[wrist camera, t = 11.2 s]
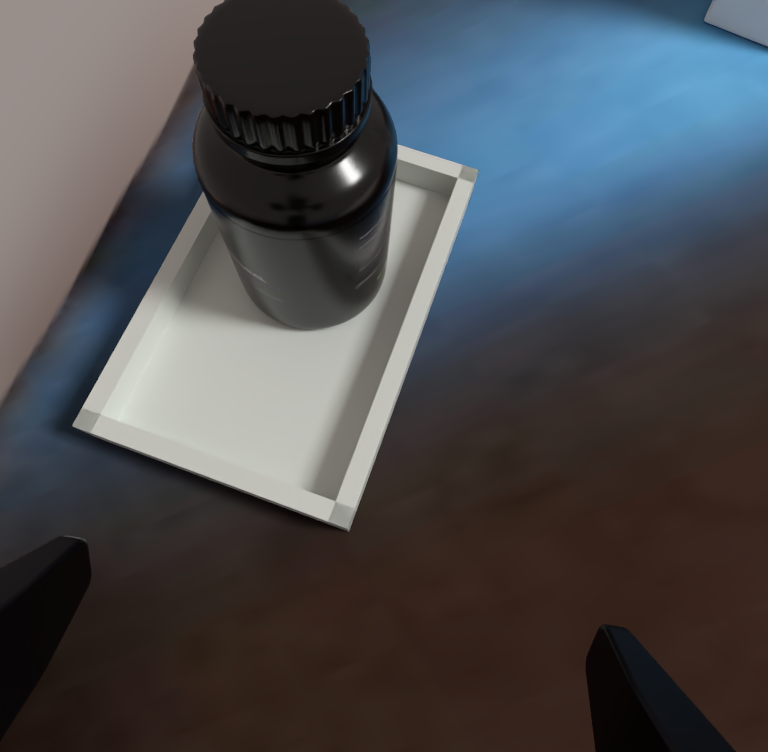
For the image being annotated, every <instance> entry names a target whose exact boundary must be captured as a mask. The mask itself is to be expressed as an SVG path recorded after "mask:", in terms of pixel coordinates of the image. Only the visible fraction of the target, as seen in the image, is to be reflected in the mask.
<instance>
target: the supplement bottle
mask: <svg viewBox="0 0 768 752" xmlns="http://www.w3.org/2000/svg"><path fill="white" fill-rule="evenodd" d="M194 48H195V51H194V54H193V60H194V64H195V67H196V74H197V78H198V81H199V84H200V87H201V90H202V94H203V102H204V105H203V107H202V109H201V111H200V113H199V116H198V118H197V121H196V124H195V129H194V133H193V142H192V153H193V161H194V165H195V169H196V173H197V176H198V179H199V182H200V184H201V187H202V189H203V192H204V194H205V196H206V199H207V201H208V204H209V206H210V208H211V211H212V213H213V216H214V218H215V220H216V223H217V225H218V228H219V230H220V232H221V235H222V237H223V240H224V242H225V244H226V247H227V249H228V251H229V254H230V256H231V259H232V261H233V263H234V266H235V268H236V271H237V273H238V275H239V278H240V280H241V282H242V284H243V286H244V288H245V290H246V292H247V294H248V295H249V297H250V298H251V300H252V301H253V302H254V304H255V305H256V306H257V307H258V308H259V309H260V310H261V311H262V312H264V313H265V314H266V315H268V316H269V317H271V318H272V319H274V320H276V321H278V322H280V323H282V324H285V325H288V326H291V327H295V328H301V329H324V328H329V327H333V326H337V325H340V324H342V323H345V322H347V321H349V320H351V319H352V318H354V317H356V316H357V315H358V314H360V313H361V312H362V311H363V310H365V309H366V308H367V307H368V306H369V304H370V303H371V302H372V301H373V300H374V298H375V297H376V295H377V294H378V292H379V290H380V288H381V286H382V283H383V280H384V277H385V272H386V266H387V259H388V249H389V239H390V230H391V220H392V210H393V200H394V190H395V181H396V171H397V159H398V158H397V156H398V144H397V135H396V130H395V127H394V123H393V120H392V118H391V115H390V113H389V111H388V110H387V108H386V106H385V104H384V103H383V101H382V100H381V98H380V97H379V96H378V94H377V93H376V92H375V91H374V90H373V88H372V80H371V75H370V71H371V57H370V44H369V40H368V38H367V37H366V36H365V28H364V27H363V26H362V25H361V24H360V23H359V21H358V17H357V16H356V15H355V14H354V13H352V12H350V10H349V8H348V6H347V5H345V4H342V3H340V2H339V1H338V0H225V1H224V2H223V3H221V4H219V5H217V6H215V7H214V9H213V11H212V13H210V14H209V15H207V16H206V17H205V18H204V23H203V24H202V25H201V26H200V27H199V28H198V36H197V37H196V39H195V40H194Z"/></svg>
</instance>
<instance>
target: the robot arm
mask: <svg viewBox="0 0 768 752" xmlns="http://www.w3.org/2000/svg"><path fill="white" fill-rule="evenodd" d="M90 580H91V565H90V557H89V549H88V544H87V542H86V540H85V539H83V538H78V537H72V536H66V535H63V536H59V537H57V538H55V539H53V540H51V541H49V542H47V543H45V544H43V545H41V546H40V547H38V548H36V549H34V550H32V551H30V552H28V553H27V554H25V555H23V556H21V557H19V558H17V559H15V560H13V561H12V562H10V563H8V564H6V565H4V566H2V567H0V741H1V739H2V737H3V736H4V734H5V733H6V731H7V730H8V728H9V727H10V725H11V723H12V722H13V720H14V719H15V717H16V716H17V714H18V713H19V711H20V709H21V708H22V706H23V705H24V703H25V702H26V700H27V699H28V697H29V695H30V694H31V692H32V691H33V689H34V688H35V686H36V684H37V683H38V681H39V680H40V678H41V676H42V675H43V673H44V671H45V670H46V668H47V666H48V664H49V662H50V660H51V659H52V657H53V655H54V653H55V651H56V649H57V647H58V645H59V643H60V641H61V639H62V637H63V635H64V633H65V631H66V629H67V627H68V625H69V623H70V622H71V620H72V618H73V616H74V614H75V612H76V610H77V608H78V606H79V604H80V602H81V600H82V598H83V596H84V594H85V592H86V590H87V588H88V586H89V583H90ZM586 677H587V685H588V693H589V701H590V709H591V718H592V726H593V734H594V742H595V750H596V752H736V751H735V750H734V749H733V748H732V746H731V745H730V744H729V743H728V742H727V741H726V740H725V739H724V737H723V736H722V735H721V734H720V733H719V732H718V731H717V730H716V728H715V727H714V726H713V725H712V724H711V723H710V722H709V720H708V719H707V718H706V717H705V716H704V715H703V714H702V713H701V711H700V710H699V709H698V708H697V707H696V706H695V705H694V703H693V702H692V701H691V700H690V699H689V698H688V697H687V696H686V694H685V693H684V692H683V691H682V690H681V689H680V688H679V687H678V685H677V684H676V683H675V682H674V681H673V680H672V679H671V677H670V676H669V675H668V674H667V673H666V672H665V671H664V670H663V668H662V667H661V666H660V665H659V664H658V663H657V662H656V660H655V659H654V658H653V657H652V656H651V655H650V654H649V653H648V651H647V650H646V649H645V648H644V647H643V646H642V645H641V644H640V642H639V641H638V640H637V639H636V638H635V637H634V636H633V634H632V633H631V632H630V631H629V630H627V629H626V628H624V627H619V626H613V625H606V624H604V625H601V626H600V627H599V629H598V631H597V633H596V635H595V638H594V640H593V642H592V645H591V647H590V649H589V652H588V654H587V658H586Z"/></svg>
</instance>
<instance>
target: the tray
mask: <svg viewBox="0 0 768 752" xmlns="http://www.w3.org/2000/svg"><path fill="white" fill-rule="evenodd" d="M397 158H398V159H397V171H396V181H395V190H394V200H393V210H392V220H391V230H390V239H389V249H388V259H387V266H386V272H385V277H384V280H383V283H382V286H381V288H380V290H379V292H378V294H377V295H376V297H375V298H374V300H373V301H372V302H371V303H370V304H369V306H368V307H367V308H366V309H365V310H363V311H362V312H361V313H360V314H358V315H357V316H356V317H354V318H352V319H351V320H349V321H347V322H345V323H342V324H340V325H337V326H333V327H329V328H324V329H301V328H295V327H291V326H288V325H285V324H282V323H280V322H278V321H276V320H274V319H272V318H271V317H269V316H268V315H266V314H265V313H264V312H262V311H261V310H260V309H259V308H258V307H257V306H256V305H255V304H254V302H253V301H252V300H251V298H250V297H249V295H248V294H247V292H246V290H245V288H244V286H243V284H242V282H241V280H240V278H239V275H238V273H237V271H236V268H235V266H234V263H233V261H232V259H231V256H230V254H229V251H228V249H227V247H226V244H225V242H224V240H223V237H222V235H221V232H220V230H219V228H218V225H217V223H216V220H215V218H214V216H213V213H212V211H211V208H210V206H209V204H208V201H207V199H206V196H205V194H204V192H202V194H201V196H200V198H199V200H198V201H197V203H196V205H195V207H194V209H193V210H192V212H191V214H190V216H189V217H188V219H187V221H186V223H185V225H184V226H183V228H182V230H181V232H180V234H179V235H178V237H177V239H176V241H175V242H174V244H173V246H172V248H171V250H170V251H169V253H168V255H167V257H166V259H165V260H164V262H163V264H162V266H161V268H160V269H159V271H158V273H157V275H156V276H155V278H154V280H153V282H152V284H151V285H150V287H149V289H148V291H147V293H146V294H145V296H144V298H143V300H142V302H141V303H140V305H139V307H138V309H137V310H136V312H135V314H134V316H133V318H132V319H131V321H130V323H129V325H128V327H127V328H126V330H125V332H124V334H123V335H122V337H121V339H120V341H119V343H118V344H117V346H116V348H115V350H114V352H113V353H112V355H111V357H110V359H109V361H108V362H107V364H106V366H105V368H104V369H103V371H102V373H101V375H100V377H99V378H98V380H97V382H96V384H95V386H94V387H93V389H92V391H91V393H90V395H89V396H88V398H87V400H86V402H85V403H84V405H83V407H82V409H81V411H80V412H79V414H78V416H77V418H76V420H75V421H74V423H73V425H72V426H73V427H75V428H77V429H79V430H81V431H83V432H85V433H87V434H90V435H92V436H94V437H96V438H99V439H102V440H104V441H107V442H110V443H112V444H115V445H118V446H120V447H123V448H126V449H128V450H131V451H134V452H136V453H139V454H142V455H145V456H147V457H150V458H153V459H155V460H158V461H161V462H163V463H166V464H169V465H171V466H174V467H177V468H179V469H182V470H185V471H187V472H190V473H193V474H195V475H198V476H201V477H203V478H206V479H209V480H211V481H214V482H217V483H219V484H222V485H225V486H227V487H230V488H233V489H235V490H238V491H241V492H244V493H246V494H249V495H252V496H254V497H257V498H260V499H262V500H265V501H268V502H270V503H273V504H276V505H278V506H281V507H284V508H286V509H289V510H292V511H294V512H297V513H300V514H302V515H305V516H308V517H310V518H313V519H316V520H318V521H321V522H324V523H326V524H329V525H332V526H334V527H337V528H340V529H343V530H345V531H348V532H349V530H350V527H351V524H352V522H353V519H354V516H355V513H356V511H357V508H358V505H359V502H360V500H361V497H362V494H363V491H364V489H365V486H366V483H367V481H368V478H369V475H370V472H371V470H372V467H373V464H374V461H375V459H376V456H377V453H378V450H379V448H380V445H381V442H382V439H383V437H384V434H385V431H386V428H387V426H388V423H389V420H390V417H391V415H392V412H393V409H394V406H395V404H396V401H397V398H398V395H399V393H400V390H401V387H402V384H403V382H404V379H405V376H406V373H407V371H408V368H409V365H410V362H411V360H412V357H413V354H414V351H415V349H416V346H417V343H418V340H419V338H420V335H421V332H422V329H423V327H424V324H425V321H426V318H427V316H428V313H429V310H430V307H431V305H432V302H433V299H434V296H435V294H436V291H437V288H438V285H439V283H440V280H441V277H442V275H443V272H444V269H445V266H446V264H447V261H448V258H449V255H450V253H451V250H452V247H453V244H454V242H455V239H456V236H457V233H458V231H459V228H460V225H461V222H462V220H463V217H464V214H465V211H466V209H467V206H468V203H469V200H470V198H471V195H472V191H473V188H474V185H475V181H476V178H477V174H478V171H479V170H477V169H474V168H470V167H467V166H464V165H461V164H458V163H455V162H451V161H448V160H445V159H442V158H439V157H436V156H432V155H429V154H426V153H423V152H420V151H417V150H413V149H410V148H407V147H404V146H401V145H398V156H397Z"/></svg>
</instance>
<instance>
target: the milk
mask: <svg viewBox="0 0 768 752" xmlns="http://www.w3.org/2000/svg"><path fill="white" fill-rule="evenodd" d="M704 22H706V23H709V24H711V25H714V26H717V27H719V28H722V29H724V30H727V31H729V32H732V33H734V34H737V35H739V36H742V37H744V38H747V39H749V40H752V41H755V42H757V43H760V44H762V45H765V46H767V47H768V0H713V1H712V3H711V5H710V7H709V9H708V11H707V14H706V16H705V18H704Z"/></svg>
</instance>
